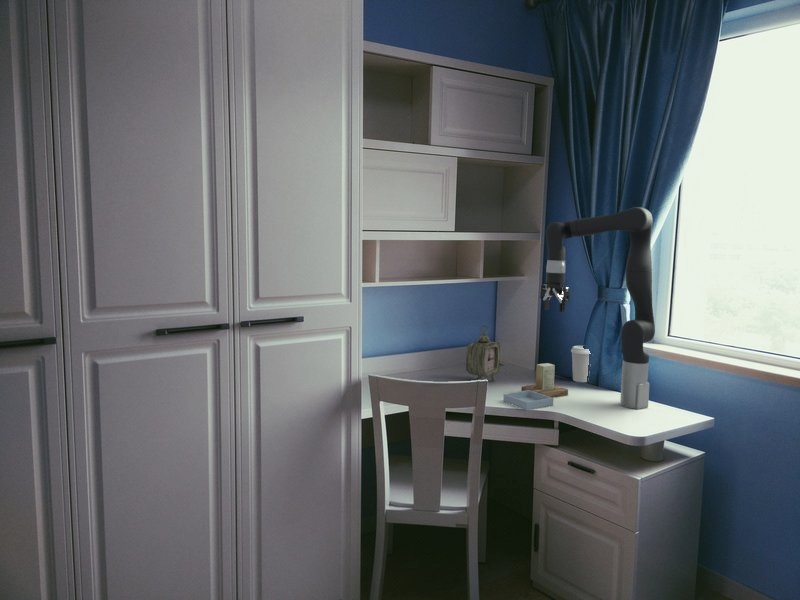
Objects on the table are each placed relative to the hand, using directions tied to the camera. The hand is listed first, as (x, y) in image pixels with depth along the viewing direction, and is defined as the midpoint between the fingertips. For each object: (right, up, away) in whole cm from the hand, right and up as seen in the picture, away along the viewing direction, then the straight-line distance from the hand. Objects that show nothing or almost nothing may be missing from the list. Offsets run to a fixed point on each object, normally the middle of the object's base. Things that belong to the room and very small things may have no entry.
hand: (553, 310), depth 256 cm
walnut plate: (-5, -34, -3) cm, 34 cm away
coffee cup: (+17, -32, +21) cm, 42 cm away
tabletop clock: (-28, -31, +15) cm, 44 cm away
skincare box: (-5, -34, -3) cm, 34 cm away
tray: (-14, -35, -18) cm, 42 cm away
